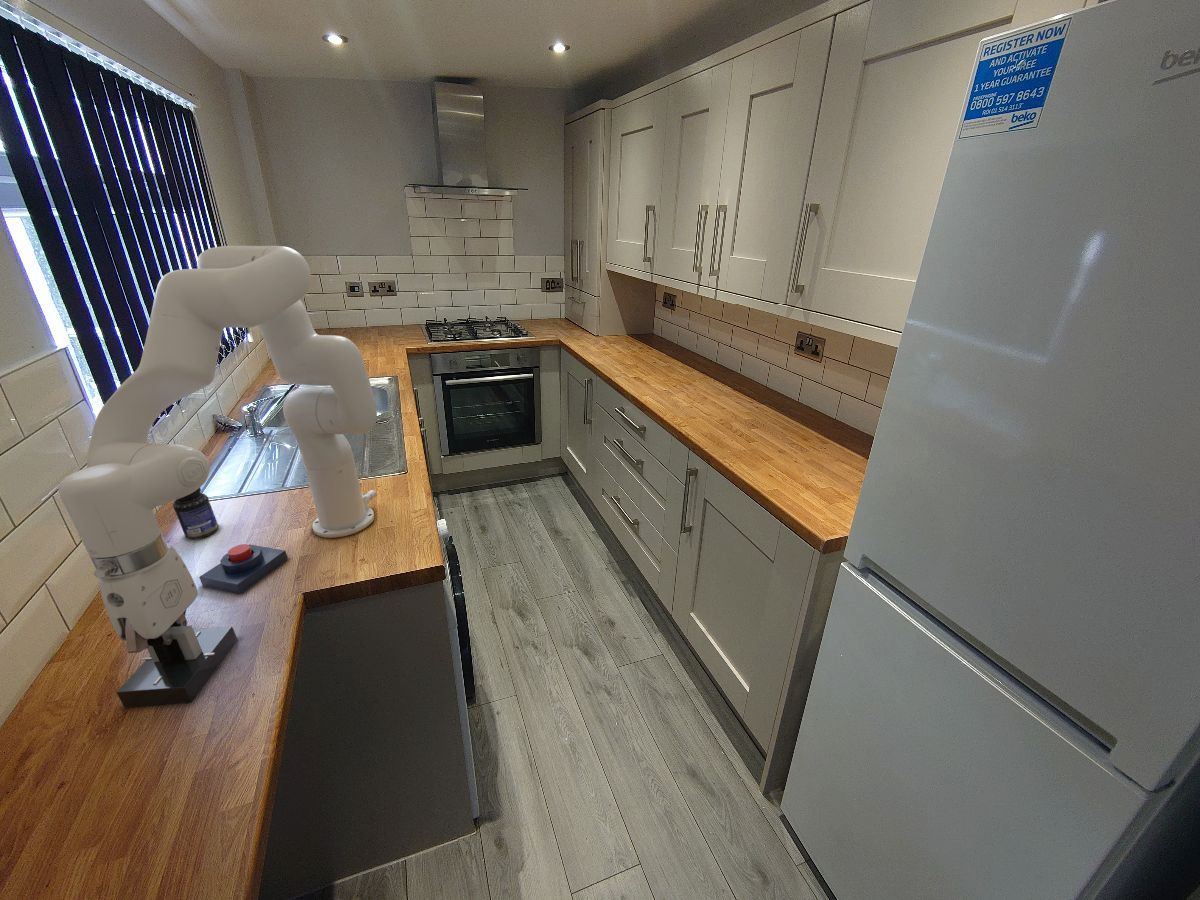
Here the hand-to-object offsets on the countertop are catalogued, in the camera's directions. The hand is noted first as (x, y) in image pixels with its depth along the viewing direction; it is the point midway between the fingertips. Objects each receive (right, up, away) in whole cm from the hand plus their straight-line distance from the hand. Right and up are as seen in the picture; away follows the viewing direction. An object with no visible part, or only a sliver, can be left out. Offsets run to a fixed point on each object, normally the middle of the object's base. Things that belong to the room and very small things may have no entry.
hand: (177, 656), depth 78 cm
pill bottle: (-24, +12, +37) cm, 46 cm away
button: (-6, +10, +22) cm, 25 cm away
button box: (-6, +7, +24) cm, 25 cm away
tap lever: (0, 0, 0) cm, 0 cm away
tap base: (0, -3, +1) cm, 3 cm away
